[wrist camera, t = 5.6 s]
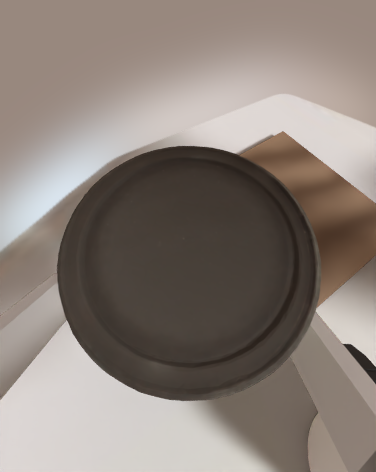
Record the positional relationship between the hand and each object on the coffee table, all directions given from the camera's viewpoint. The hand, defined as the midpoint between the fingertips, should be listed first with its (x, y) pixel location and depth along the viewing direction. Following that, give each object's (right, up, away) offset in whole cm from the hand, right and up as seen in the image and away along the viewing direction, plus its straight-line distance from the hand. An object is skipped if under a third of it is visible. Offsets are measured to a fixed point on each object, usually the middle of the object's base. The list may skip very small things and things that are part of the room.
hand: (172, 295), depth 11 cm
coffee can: (+1, -2, +9) cm, 9 cm away
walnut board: (+15, +8, +13) cm, 21 cm away
